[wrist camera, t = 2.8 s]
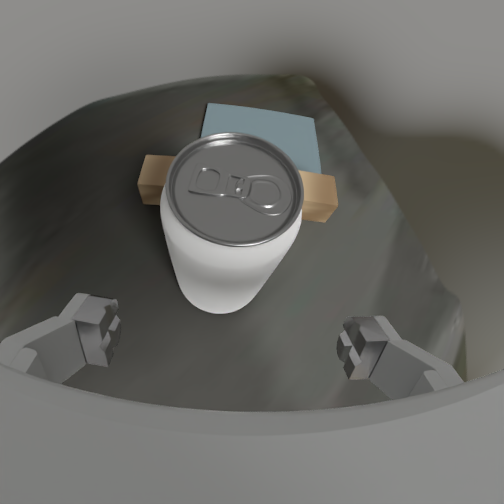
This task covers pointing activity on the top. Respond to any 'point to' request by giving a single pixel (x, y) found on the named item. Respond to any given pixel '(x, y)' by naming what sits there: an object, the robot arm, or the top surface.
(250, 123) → the felt mat
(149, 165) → the oak rail
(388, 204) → the top surface
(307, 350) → the top surface
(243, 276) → the can
